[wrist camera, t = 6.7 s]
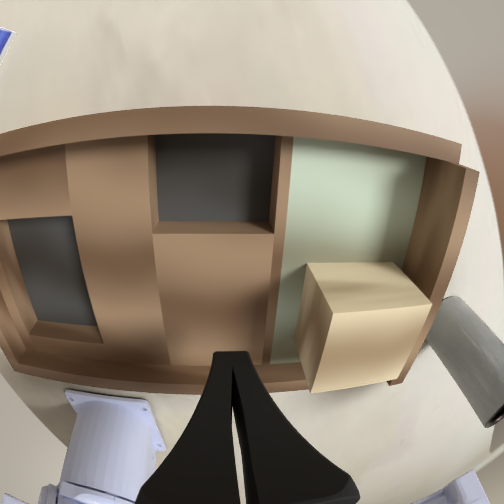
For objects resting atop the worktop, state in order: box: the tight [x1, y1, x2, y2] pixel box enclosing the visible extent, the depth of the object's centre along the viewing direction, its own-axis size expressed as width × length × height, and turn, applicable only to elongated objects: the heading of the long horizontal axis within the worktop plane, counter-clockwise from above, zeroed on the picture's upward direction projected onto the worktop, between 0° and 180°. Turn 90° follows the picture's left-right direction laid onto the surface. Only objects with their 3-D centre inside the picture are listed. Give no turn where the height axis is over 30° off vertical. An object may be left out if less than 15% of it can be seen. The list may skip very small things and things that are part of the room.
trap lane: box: [0, 106, 479, 395], centre depth 13 cm, size 15×26×5 cm, turn 87°
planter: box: [425, 296, 504, 428], centre depth 16 cm, size 4×4×10 cm
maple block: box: [294, 262, 432, 393], centre depth 14 cm, size 5×5×4 cm
